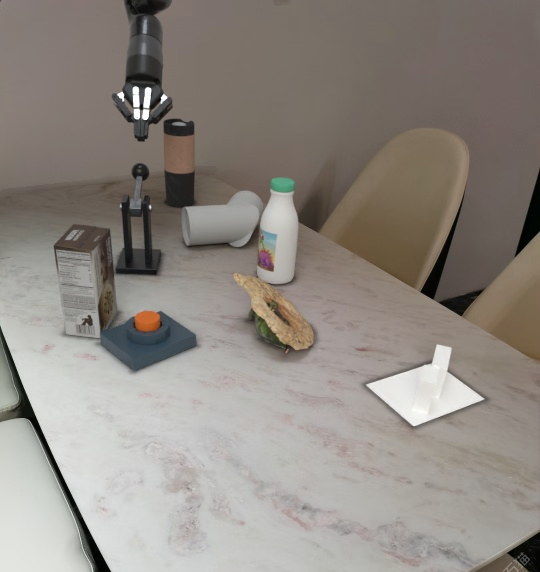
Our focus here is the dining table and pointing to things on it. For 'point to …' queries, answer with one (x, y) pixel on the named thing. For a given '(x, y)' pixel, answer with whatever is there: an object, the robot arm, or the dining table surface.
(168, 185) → the travel mug
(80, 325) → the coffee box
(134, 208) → the lever
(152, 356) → the button box
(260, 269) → the milk bottle
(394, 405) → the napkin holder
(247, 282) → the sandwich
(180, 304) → the dining table surface
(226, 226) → the elbow connector
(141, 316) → the button
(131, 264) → the bracket
